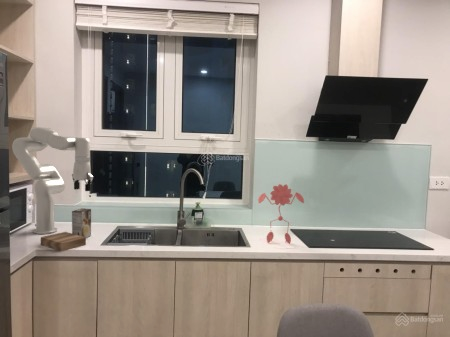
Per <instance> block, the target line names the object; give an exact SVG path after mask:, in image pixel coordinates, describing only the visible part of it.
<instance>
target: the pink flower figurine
mask: <svg viewBox="0 0 450 337" xmlns="http://www.w3.org/2000/svg"><path fill="white" fill-rule="evenodd" d="M272 189H273V190H272V191H270V195H271V197H270V199H269V197H268V196H267V194H266V193H265V192H263V193H262V194H260V195H259V196H258V199H257V200H258V204H261V203H262V202H264V201H265V199H267V200H268V202H269V203H270V204H271V205H276V206H277V205H278V212H279V216H278V217H277V218H276V219H274V220H271V221H270V222H269V224H270V225H269V226H270V227H272V222H275V221H284V222H287V228H289V226H290V222H289V221H287V220H286V219H284V217H283V216H282V214H281V211H280V210H281V209H280V208H281V206H285V204H286V205H292V204H293V202H294V200H295V197H296V199H297V200H298V202H300V203H302V204H305V200H304V197H303V195H301V194H300V193H299V192H297V191H295V194H294V195H293V194H292V189H291V188H289V186H288V184H286V183H285V184H284V185H283V184H280V183H279V184H278V185H273V186H272ZM291 198H292V199H291ZM271 201H274V202H273V203H272V202H271ZM274 236H275V235H274V232H273V231H270V232H268V233H267V235H266V242H267V244H269V243H270V242H272V241H273V239H274V238H275V237H274ZM284 239H285V242H286V243H288V244H289V245H290V244H291V243H292V242H291V241H292V238H291V235H290V234H289V229H287V230H286V232H285V234H284ZM260 241H261V238H260Z"/></svg>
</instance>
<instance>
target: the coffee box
mask: <svg viewBox="0 0 450 337" xmlns="http://www.w3.org/2000/svg"><path fill="white" fill-rule="evenodd" d="M71 233H72V234H75V235H79V236H83V237H86V239H87V238H89V237H92V209H91V208H83V207H82V208H78V209H75V210H72V211H71Z"/></svg>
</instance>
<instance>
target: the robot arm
mask: <svg viewBox="0 0 450 337" xmlns="http://www.w3.org/2000/svg"><path fill="white" fill-rule="evenodd" d="M90 141H91V140H90V139H89V138H87V137H74V136H60V135H59V133H58V132H57V131H56V130H54V129H53V128H51V127H39V126H38V127H34V128H32V129H31V130H30V131H29V137H28V136H27V137H26V136H25V137H17V138H15V139H14V140H13V142H12V146H11V148H12V149H11V150H12V152H13V155H14V156H15V157H16V159H17V160H18V162H20V164H21V165H22V167H23V168H24V170H25V171H26V172H25V173H27V175H28V176H29V178H30V179H31V180H32V181H36V182H35V183H34V187H33V188H34V193H35V202H36V203H35V204H36V206H35V207H36V209H35V210H36V218H35V219H36V223H35V224H34V227H35V229H33V231H32V232H33V234H37V235H50V234H55V233H56V232H58V228H57V227H55V199H54V197H53V196H52V195H55V194H60V193H63V192H64V191H65V188H66V184H65V181H64V179H63V177H62V176H61V174H60V173H59V171H58V170H57V168H56V167H55V166H54V165H52V164H48V163H45V164H42V163H40V161H39V160H38V159H37V157H36V156H35V155H34V154H32V153H31V152H41V151H43V150H45V149H46V148H47V147H50V148H51V149H56V150H59V151H75V152H74V163H73V170H72V174H71V177H72V180H73V189H74V190H75V191H77V190H80V189H81V188H80V186H81V185H80V184H81V183H80V181H84V182H85V184H84V190H85V192H90V191H91V188H92V187H91V186H92V182H93V179H94V176H93V175H92V172H91V169H92V168H91V163H90V158H91V157H90V155H91V154H90V153H91V152H90V148H91V145H90Z"/></svg>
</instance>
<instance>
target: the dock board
mask: <svg viewBox="0 0 450 337" xmlns="http://www.w3.org/2000/svg"><path fill="white" fill-rule="evenodd" d="M86 241H87V238H86V237H83V236H79V235H75V234H72V232H71V233H70V232H68V231H63V232H58V233H51V234H47V235H44V236H40V246H45V247H46V248H50V249H54V250H57V251H60V252H65V251H67V250H70V249H74V248H75V249H76V248H78V247H81V246H85V245H87V242H86Z"/></svg>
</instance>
